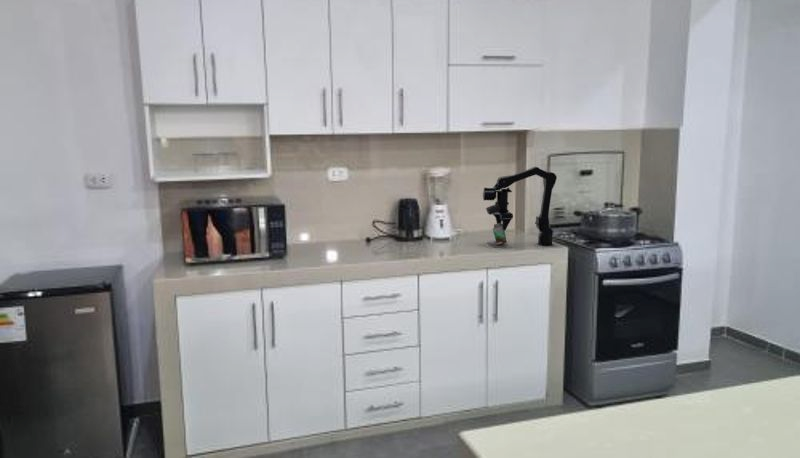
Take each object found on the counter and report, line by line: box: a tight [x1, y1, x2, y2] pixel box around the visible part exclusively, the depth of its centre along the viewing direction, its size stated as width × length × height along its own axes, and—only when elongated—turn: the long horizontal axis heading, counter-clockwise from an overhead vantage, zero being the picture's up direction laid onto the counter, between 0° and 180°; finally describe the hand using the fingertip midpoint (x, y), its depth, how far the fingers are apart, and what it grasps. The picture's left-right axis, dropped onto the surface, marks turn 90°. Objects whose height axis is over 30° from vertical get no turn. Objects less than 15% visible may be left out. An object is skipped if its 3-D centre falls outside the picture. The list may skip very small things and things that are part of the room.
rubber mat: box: [486, 241, 506, 249], centre depth 321 cm, size 6×12×1 cm, turn 9°
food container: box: [492, 222, 508, 246], centre depth 320 cm, size 12×6×10 cm, turn 168°
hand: (501, 228), depth 321 cm, fingers open, 9 cm apart
